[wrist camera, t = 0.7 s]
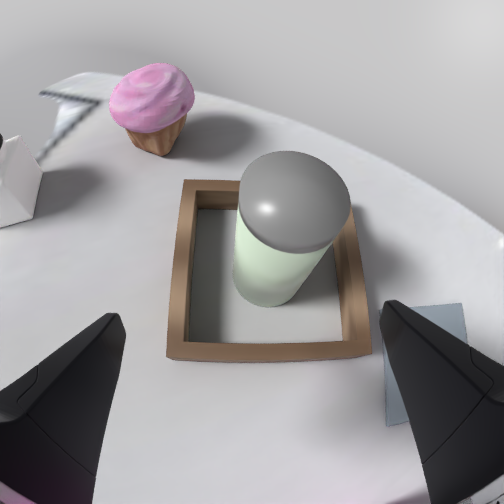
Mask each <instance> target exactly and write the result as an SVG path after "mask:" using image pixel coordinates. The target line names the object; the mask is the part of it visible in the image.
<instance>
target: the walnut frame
mask: <svg viewBox="0 0 504 504" xmlns="http://www.w3.org/2000/svg"><path fill="white" fill-rule="evenodd" d="M239 188H240V181H230V180H187V179H184V183H183V190H182V196H181V203H180V210H179V218H178V225H177V233H176V241H175V250H174V259H173V269H172V279H171V290H170V302H169V316H168V331H167V350H166V357H168V358H170V359H172V360H181V361H199V362H228V363H275V362H304V361H322V360H336V359H348V358H357V357H361V356H365V355H369V354H372V347H371V335H370V325H369V315H368V306H367V298H366V290H365V283H364V276H363V269H362V262H361V256H360V250H359V244H358V238H357V233H356V228H355V222H354V217H353V212H352V207H351V208H350V214H349V217H348V220H347V221H346V223H345V225H344V226H343V228H342V229H341V231H340V232H339V234H338V235H337V237H336V238H335V239H334V241H333V248H334V256H335V264H336V272H337V281H338V290H339V300H340V311H341V322H342V335H343V341H334V342H314V343H280V344H237V343H203V342H189V320H190V301H191V285H192V271H193V258H194V246H195V234H196V224H197V214H198V209H228V210H238V199H239Z"/></svg>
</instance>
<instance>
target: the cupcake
mask: <svg viewBox="0 0 504 504" xmlns="http://www.w3.org/2000/svg"><path fill="white" fill-rule="evenodd" d="M194 99H195V96H194V90H193V87H192V85H191V83H190V81H189V79H188V78H187V76H186V75H185V74H184V72H183V71H181V70H180V69H179V68H178V67H176V66H173V65H170V64H165V63H154V64H150V65H147V66H145V67H143V68H140V69H137V70H134V71H132V72H130V73H129V74H127V75H126V76H125V77H123V78H122V80H121V81H120V83H119V84H117V85H116V87H115V88H114V90H113V93H112V95H111V98H110V101H109V107H110V113H111V116H112V118H113V119H114V120H115V121H116V123H117V124H119V125H120V126H122V127H124V128H125V129H126V131H127V133H128V136H129V137H130V139H131V141H132V143H133V144H134V145H135V146H136V147H137V148H140V149H143V150H145V151H149V152H152V153H154V154H156V155H159V156H163V155H166V154H168V153H169V152H170V150H171V148H172V146H173V144H174V142H175V139H176V138H177V137H178V136H179V134H180V132H181V130H182V128H183V126H184V124H185V120H186V117H187V112H188V111H189V110H190V109H191V108H192V106H193V103H194Z"/></svg>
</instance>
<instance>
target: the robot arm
mask: <svg viewBox="0 0 504 504" xmlns="http://www.w3.org/2000/svg"><path fill="white" fill-rule="evenodd" d="M380 329H381V332H382V336H383V340H384V344H385V348H386V351H387V356H388V359H389V363H390V366H391V369H392V371H393V374H394V377H395V380H396V382H397V385H398V388H399V391H400V394H401V397H402V400H403V403H404V406H405V409H406V412H407V415H408V418H409V421H410V425H411V428H412V431H413V435H414V438H415V441H416V445H417V448H418V452H419V455H420V459H421V463H422V464H423V465H422V467H423V471H424V475H425V479H426V483H427V487H428V492H429V496H430V501H431V504H460V503H462V502H463V501H465V500H467V499H469V498H470V499H471V502H472V504H504V366H503V365H501V364H499V363H497V362H495V361H494V360H492V359H490V358H488V357H487V356H485V355H484V354H482V353H480V352H479V351H477V350H476V349H474V348H473V347H470V346H469V345H468V344H466V343H465V342H463V341H462V340H460V339H459V338H457V337H455V336H454V335H452V334H451V333H449V332H448V331H446V330H444V329H443V328H441V327H440V326H438V325H436V324H435V323H433V322H432V321H430V320H428V319H427V318H425V317H424V316H422V315H420V314H419V313H417V312H416V311H414V310H412V309H411V308H409V307H407V306H406V305H404V304H402V303H401V302H399V301H397V300H388V301H385V303H384V305H383V309H382V313H381V316H380ZM125 339H126V332H125V329H124V326H123V323H122V321H121V318H120V316H119V314H117V313H106V314H105V315H103V316H102V317H101V318H99V319H98V320H97V321H95V322H94V323H92V324H91V325H90V326H88V327H87V328H86V329H84V330H83V331H81V332H80V333H79V334H77V335H76V336H75V337H73V338H72V339H71V340H69V341H68V342H67V343H65V344H64V345H63V346H61V347H60V348H59V349H57V350H56V351H55V352H53V353H52V354H51V355H49V356H48V357H47V358H45V359H44V360H43V361H42V362H40V363H39V364H38V365H36V366H35V367H34V368H32V369H31V370H30V371H28V372H27V373H26V374H24V375H23V376H22V377H20V378H19V379H17V380H16V381H14V382H13V383H12V384H10V385H9V386H7V387H6V388H4V389H3V390H1V391H0V504H92V500H93V493H94V487H95V481H96V474H97V468H98V463H99V458H100V453H101V448H102V443H103V438H104V434H105V429H106V425H107V420H108V416H109V412H110V408H111V404H112V400H113V396H114V392H115V389H116V385H117V381H118V377H119V373H120V368H121V362H122V356H123V350H124V345H125Z"/></svg>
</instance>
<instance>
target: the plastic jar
mask: <svg viewBox="0 0 504 504" xmlns="http://www.w3.org/2000/svg"><path fill="white" fill-rule="evenodd" d="M350 208H351V202H350V196H349V192H348V189H347V187H346V185H345V183H344V182H343V180H342V178H341V177H340V176H339V175H338V174H337V172H336V171H335V170H334V169H332V168H331V167H330V166H329V165H327V164H326V163H325V162H323V161H321V160H320V159H318V158H316V157H313V156H311V155H308V154H305V153H301V152H295V151H278V152H272V153H269V154H266V155H263V156H261V157H259V158H258V159H256V160H255V161H253V162H252V163H251V164H250V165H249V166H248V167H247V168H246V170H245V171H244V173H243V175H242V178H241V181H240V188H239V199H238V211H237V223H236V236H235V248H234V261H233V281H234V284H235V287H236V289H237V290H238V292H239V293H240V295H241V296H242V297H243V298H244V299H246V300H247V301H249V302H250V303H252V304H254V305H257V306H261V307H275V306H279V305H282V304H284V303H286V302H287V301H289V300H290V299H291V298H292V297H293V296H294V295H295V293H296V292H297V291H298V289H299V288H300V287H301V285H302V284H303V282H304V281H305V280H306V278H307V277H308V276H309V274H310V273H311V272H312V270H313V269H314V267H315V266H316V265H317V263H318V262H319V261H320V259H321V258H322V256H323V255H324V254H325V252H326V251H327V249H328V248H329V247H330V245H331V244H332V242H333V241H334V239H335V238H336V237H337V235H338V234H339V232H340V231H341V229H342V228H343V226H344V225H345V223H346V221H347V220H348V217H349V214H350Z"/></svg>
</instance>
